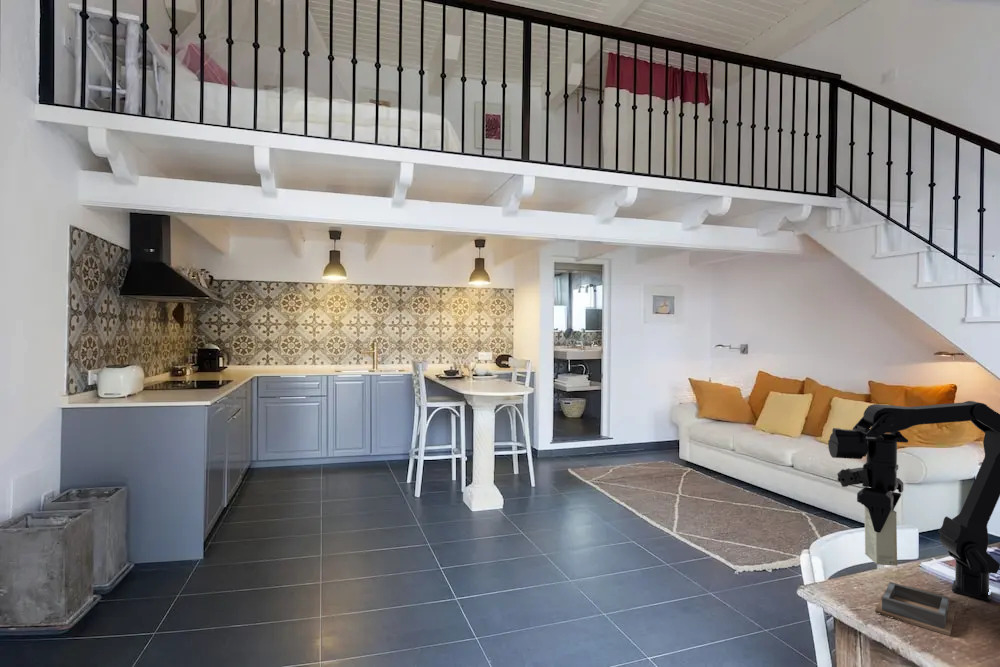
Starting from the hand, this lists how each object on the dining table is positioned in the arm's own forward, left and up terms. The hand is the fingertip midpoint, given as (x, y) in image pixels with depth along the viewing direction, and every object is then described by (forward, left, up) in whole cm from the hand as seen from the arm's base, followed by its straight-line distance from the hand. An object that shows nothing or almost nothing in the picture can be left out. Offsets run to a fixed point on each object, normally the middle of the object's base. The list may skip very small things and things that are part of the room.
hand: (880, 527), depth 126 cm
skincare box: (0, 0, -8) cm, 8 cm away
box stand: (+11, +8, -13) cm, 18 cm away
